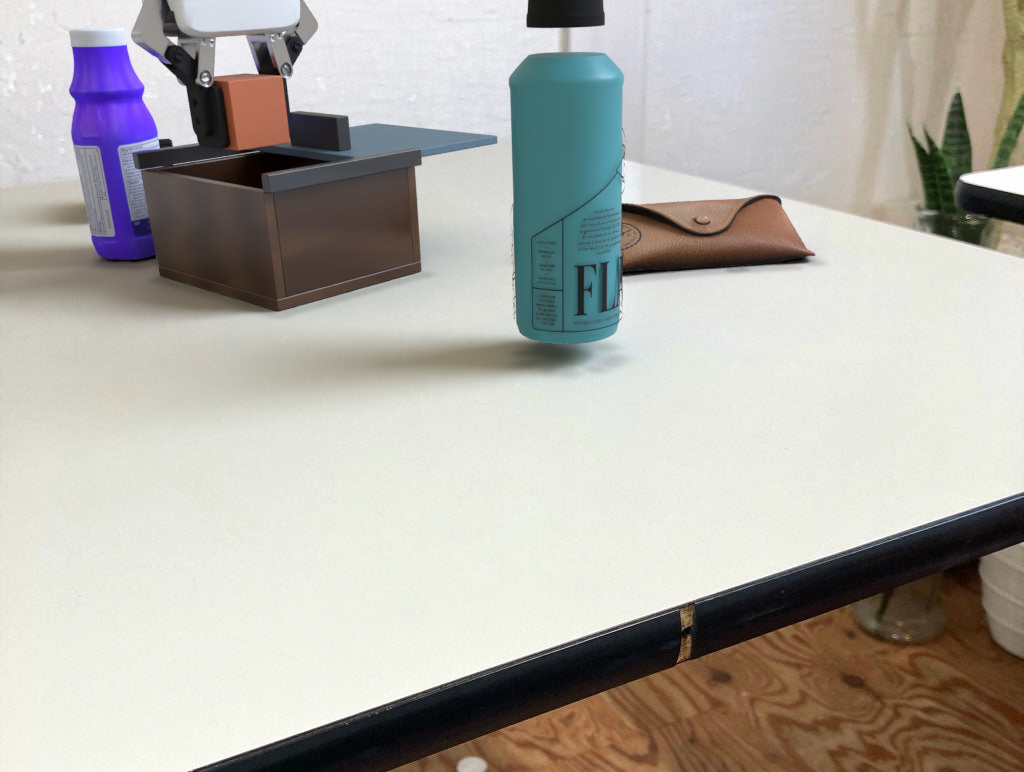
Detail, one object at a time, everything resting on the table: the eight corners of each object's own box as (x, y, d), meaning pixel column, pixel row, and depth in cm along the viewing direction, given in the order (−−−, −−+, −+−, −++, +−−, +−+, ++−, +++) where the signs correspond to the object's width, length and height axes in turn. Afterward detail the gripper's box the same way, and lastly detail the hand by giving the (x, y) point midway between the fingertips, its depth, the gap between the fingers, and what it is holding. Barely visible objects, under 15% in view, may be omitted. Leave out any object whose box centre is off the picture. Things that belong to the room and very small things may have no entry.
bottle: (129, 243, 92) (88, 26, 84) (188, 244, 91) (152, 25, 83) (83, 263, 86) (33, 31, 78) (146, 265, 85) (102, 30, 77)
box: (153, 274, 82) (131, 152, 78) (293, 242, 91) (280, 131, 87) (285, 313, 72) (267, 175, 67) (429, 272, 80) (421, 148, 76)
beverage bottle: (575, 378, 59) (576, -19, 50) (490, 354, 63) (476, -17, 54) (643, 348, 63) (656, -22, 54) (560, 328, 67) (558, -20, 58)
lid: (248, 149, 84) (242, 110, 82) (376, 130, 92) (373, 94, 91) (368, 167, 75) (364, 123, 73) (497, 143, 83) (496, 103, 82)
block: (202, 146, 75) (191, 78, 73) (254, 138, 78) (245, 73, 76) (237, 151, 72) (228, 81, 70) (290, 142, 75) (282, 75, 73)
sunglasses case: (600, 273, 77) (588, 185, 77) (578, 299, 84) (567, 218, 84) (825, 255, 80) (813, 171, 80) (786, 282, 87) (774, 204, 87)
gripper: (277, -146, 74) (307, 125, 83) (49, -160, 63) (111, 153, 72) (344, -156, 70) (369, 131, 78) (111, -173, 59) (169, 163, 67)
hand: (245, 139), depth 75 cm, fingers closed on block, 4 cm apart
